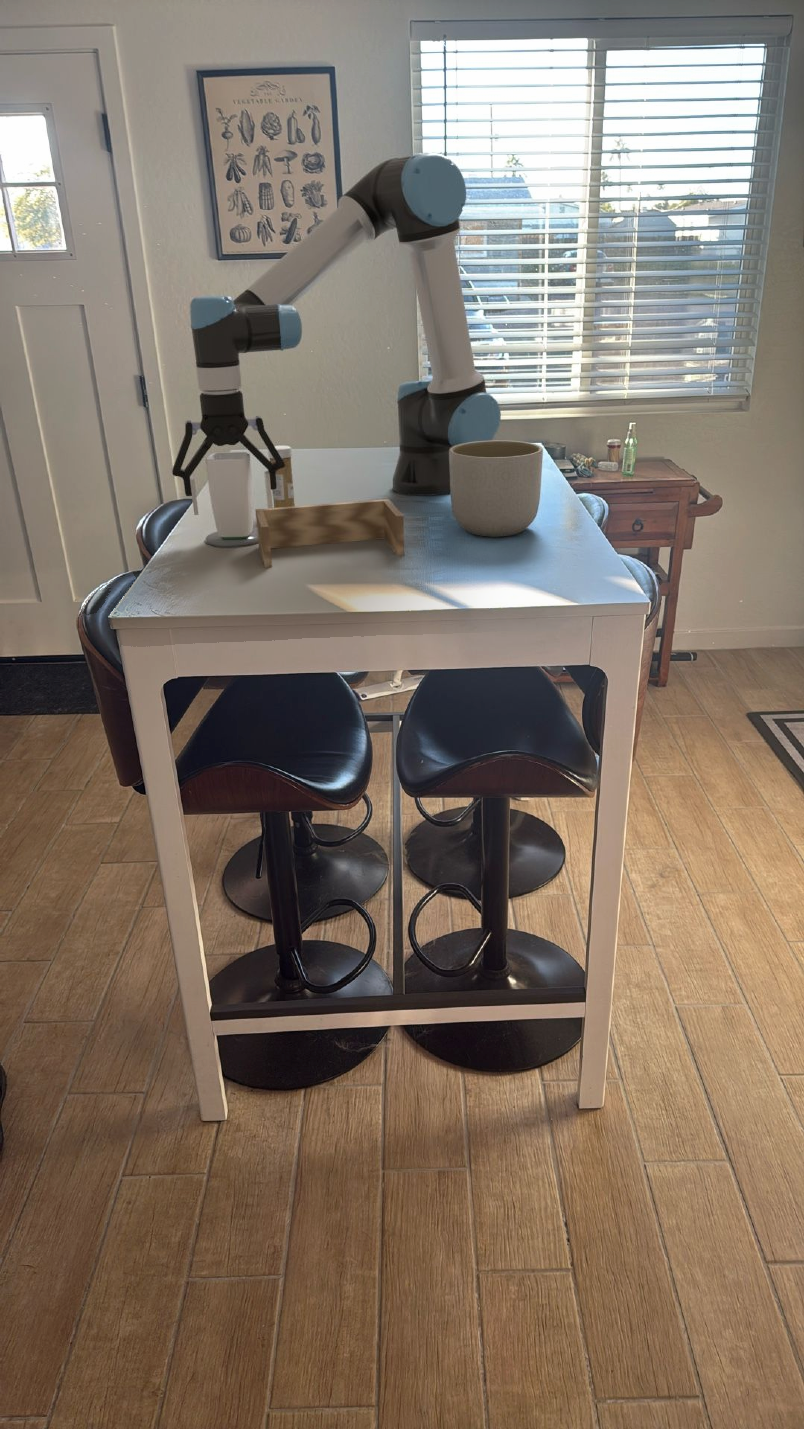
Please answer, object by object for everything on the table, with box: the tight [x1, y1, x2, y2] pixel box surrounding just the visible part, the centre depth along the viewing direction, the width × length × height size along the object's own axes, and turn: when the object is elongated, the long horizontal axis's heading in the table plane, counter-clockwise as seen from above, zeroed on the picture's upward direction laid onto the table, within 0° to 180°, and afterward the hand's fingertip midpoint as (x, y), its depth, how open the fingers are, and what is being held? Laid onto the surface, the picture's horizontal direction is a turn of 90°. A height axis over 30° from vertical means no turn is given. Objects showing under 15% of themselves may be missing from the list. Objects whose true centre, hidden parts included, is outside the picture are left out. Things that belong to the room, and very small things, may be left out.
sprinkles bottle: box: [267, 445, 296, 508], centre depth 201 cm, size 5×5×13 cm
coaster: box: [205, 528, 259, 548], centre depth 187 cm, size 11×11×1 cm
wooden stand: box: [255, 498, 405, 568], centre depth 176 cm, size 24×13×7 cm, turn 102°
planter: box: [449, 439, 544, 538], centre depth 184 cm, size 17×17×15 cm
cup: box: [205, 451, 254, 539], centre depth 183 cm, size 7×7×15 cm
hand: (233, 510), depth 185 cm, fingers open, 13 cm apart
